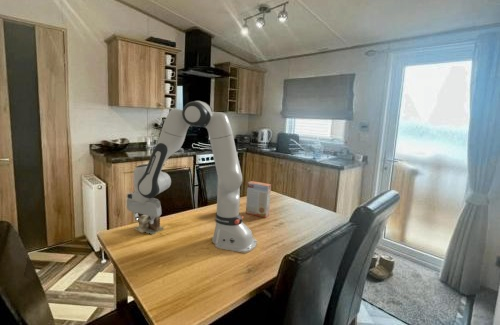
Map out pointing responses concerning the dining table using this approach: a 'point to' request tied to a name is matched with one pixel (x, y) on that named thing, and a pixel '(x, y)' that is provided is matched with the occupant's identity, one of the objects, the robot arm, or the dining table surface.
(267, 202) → the cracker box
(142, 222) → the maple slotted plate
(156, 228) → the walnut slotted plate
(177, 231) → the dining table surface
